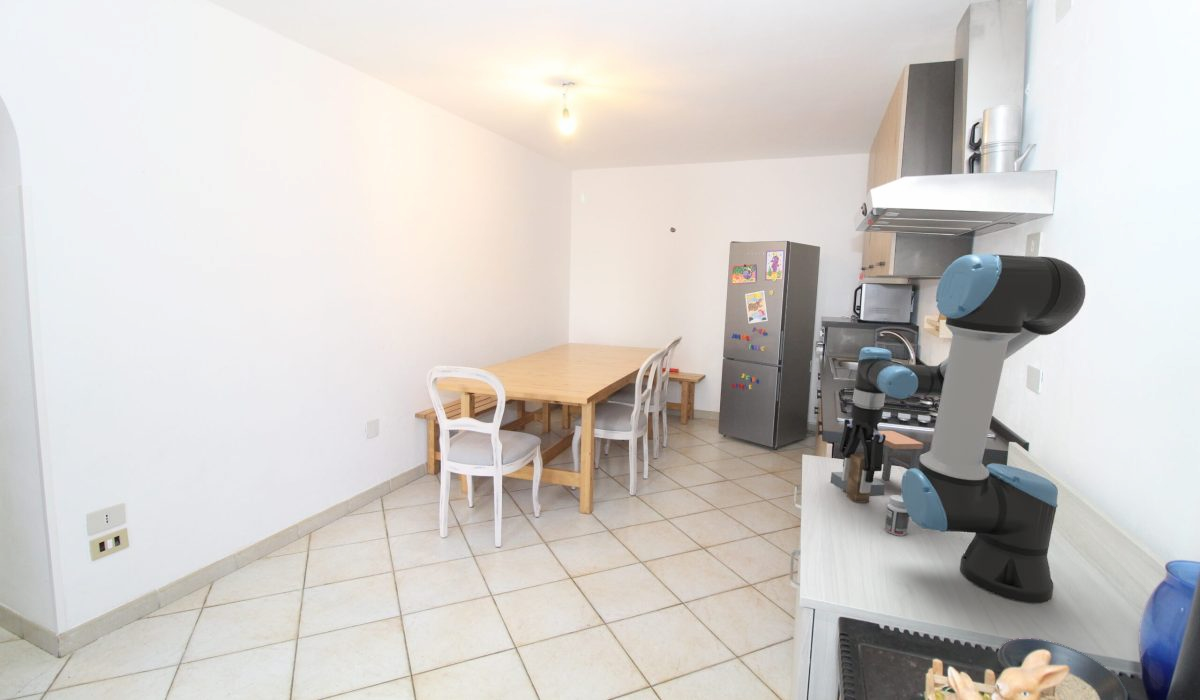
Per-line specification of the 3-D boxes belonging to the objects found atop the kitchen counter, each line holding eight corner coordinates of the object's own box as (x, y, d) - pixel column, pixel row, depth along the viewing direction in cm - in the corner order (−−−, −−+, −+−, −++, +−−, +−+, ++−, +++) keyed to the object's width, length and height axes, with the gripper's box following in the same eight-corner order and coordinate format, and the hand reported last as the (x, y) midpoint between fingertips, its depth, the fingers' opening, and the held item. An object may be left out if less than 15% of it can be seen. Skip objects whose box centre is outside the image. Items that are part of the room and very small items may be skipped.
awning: (916, 494, 154) (923, 443, 151) (888, 496, 152) (895, 444, 149) (886, 478, 165) (892, 430, 163) (859, 479, 163) (865, 431, 161)
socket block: (884, 494, 153) (885, 484, 152) (852, 496, 151) (853, 485, 150) (860, 480, 162) (861, 471, 162) (830, 481, 160) (831, 472, 160)
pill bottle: (909, 531, 131) (913, 498, 129) (903, 538, 127) (908, 504, 126) (887, 524, 134) (892, 492, 133) (881, 530, 130) (886, 497, 129)
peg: (868, 501, 147) (873, 458, 145) (855, 502, 146) (860, 459, 145) (859, 495, 151) (863, 454, 149) (846, 496, 150) (850, 454, 148)
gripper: (907, 416, 136) (893, 502, 141) (856, 395, 155) (844, 470, 160) (881, 417, 135) (867, 503, 139) (832, 395, 154) (821, 471, 158)
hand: (855, 486), depth 150 cm, fingers open, 7 cm apart
